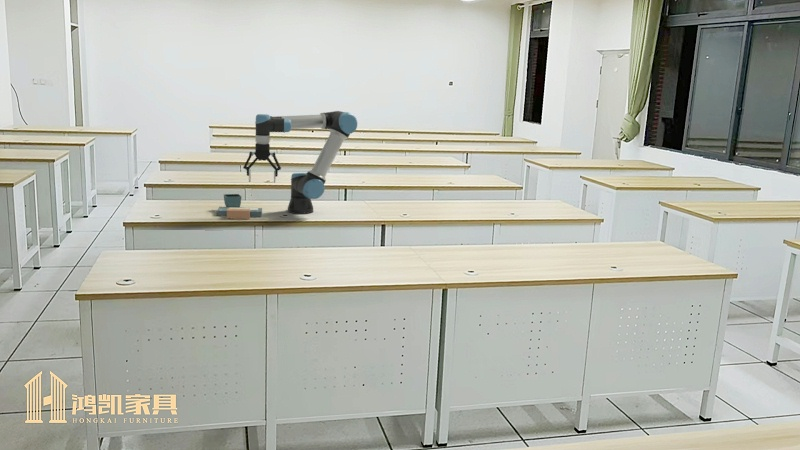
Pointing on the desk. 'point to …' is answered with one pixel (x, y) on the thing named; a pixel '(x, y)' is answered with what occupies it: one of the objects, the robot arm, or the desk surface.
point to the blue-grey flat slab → (253, 211)
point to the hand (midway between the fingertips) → (262, 182)
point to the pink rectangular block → (238, 213)
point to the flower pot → (232, 200)
